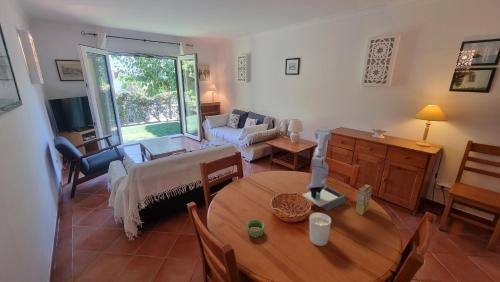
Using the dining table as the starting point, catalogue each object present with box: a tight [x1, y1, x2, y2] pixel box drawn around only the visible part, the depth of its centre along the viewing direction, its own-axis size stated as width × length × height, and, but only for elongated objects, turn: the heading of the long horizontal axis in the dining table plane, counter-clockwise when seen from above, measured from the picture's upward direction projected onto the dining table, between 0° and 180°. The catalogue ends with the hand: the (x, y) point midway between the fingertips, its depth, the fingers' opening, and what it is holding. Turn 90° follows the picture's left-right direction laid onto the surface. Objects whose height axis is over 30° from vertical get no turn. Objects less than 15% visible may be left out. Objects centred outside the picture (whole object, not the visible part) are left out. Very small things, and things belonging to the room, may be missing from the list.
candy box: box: [355, 183, 373, 216], centre depth 124 cm, size 9×4×15 cm, turn 129°
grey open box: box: [320, 186, 346, 212], centre depth 136 cm, size 14×16×5 cm
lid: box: [301, 189, 338, 208], centre depth 131 cm, size 14×16×4 cm
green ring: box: [246, 219, 265, 238], centre depth 110 cm, size 9×9×4 cm
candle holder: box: [309, 212, 332, 247], centre depth 103 cm, size 10×10×12 cm
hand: (315, 196), depth 130 cm, fingers closed on lid, 2 cm apart
